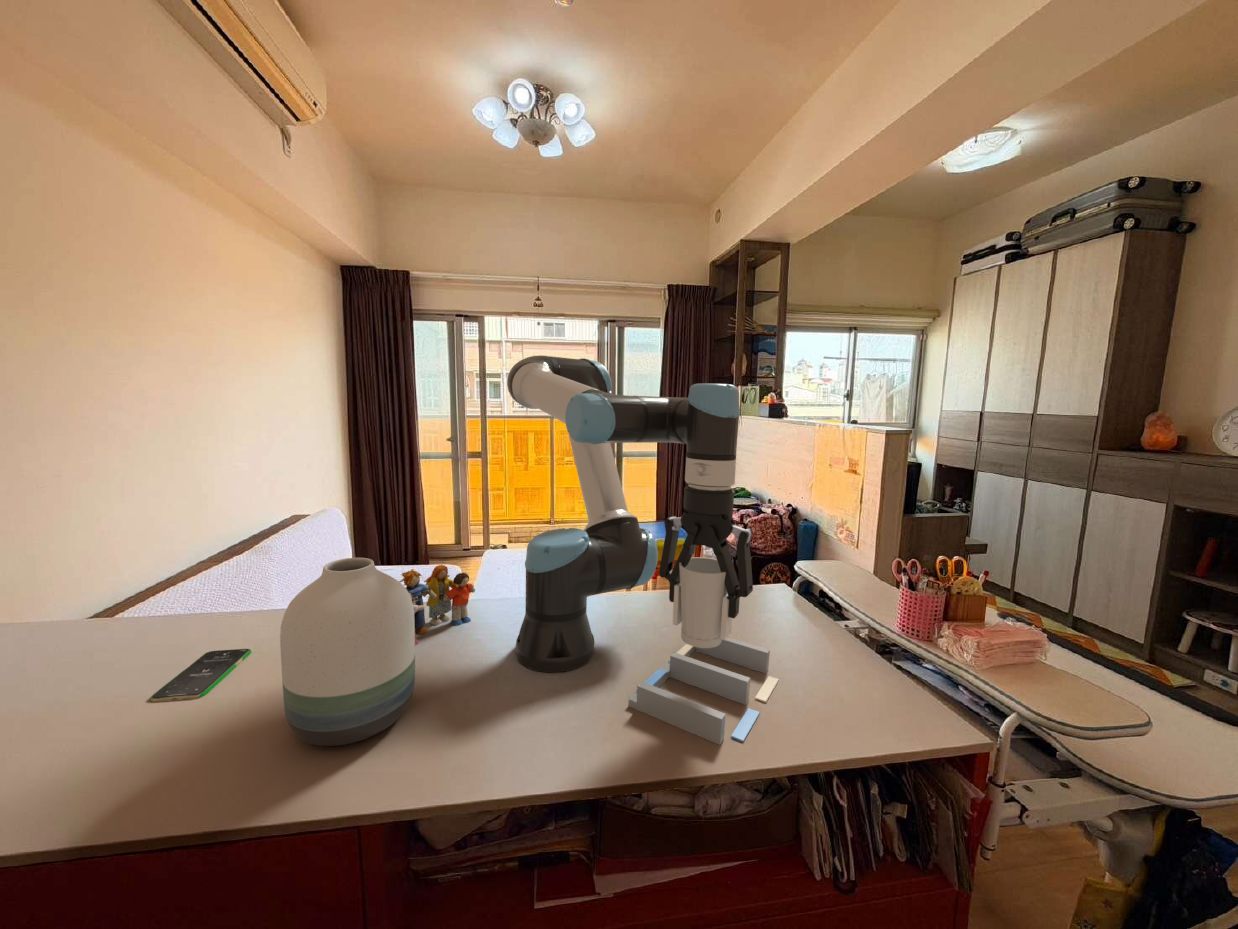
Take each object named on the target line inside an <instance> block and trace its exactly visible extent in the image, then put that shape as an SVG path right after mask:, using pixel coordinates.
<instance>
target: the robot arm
mask: <svg viewBox="0 0 1238 929" xmlns="http://www.w3.org/2000/svg"><path fill="white" fill-rule="evenodd" d="M611 378H612V377H611V375H610V373H609V371H608V369H607V368H606V366H604V364H602V363H601V362H599V361H597V360H590V359H589V358H571V357H570V358H569V357H560V356H548V355H531V356H528V357H525V358H523V359H520V360H519V361H517V362H516V363H515V364H514V365H513V366H512V368H510V370H509V372H508V376H507V378H506V379H507V380H506V386H507V390H508V393H509V395H510V397H511V398H512V400H514V402H516V403H517V404H518V405H520V406H522V407H524V408H526V409H531V410H540V411H542V412H544V413H546V414H547V415H549V416H551V417H553V418H555V419H557V420H558V421H560V422H561V423H563V424H565V426H566V428H565V429H566V431H567V433H568V438H569V442H570V446H571V451H572V456H573V458H574V464H575V466H576V467H575V468H576V472H577V477H578V481H579V484H580V489H581V494H582V498H583V503H584V508H585V511H586V515H587V519H588V522H587V524H586V525H585V526H584V529H580V528H575V527H569V528H564V527H563V528H555V529H551V530H547V531H544V532H541V533H539V534H537V535H535V536H534V537H533V538H532V539H530V540H529V542H528V543H527V545H526V556H525V562H524V567H525V568H524V569H525V614H524V617H523V620H522V623H521V626H520V629H519V632H518V635H517V637H516V641H515V658H516V660H517V661H518V662H519V664H521V665H523V666H524V667H526V668H528V669H531V670H534V671H538V672H543V673H544V672H545V673H562V672H567V671H571V670H575V669H578V668H580V667H582V666H585V665H586V664H587V663H589V662H590V661H591V659H593V657H594V654H595V644H596V643H595V637H594V635H593V632H592V629H591V625H590V621H589V618H588V614H587V605H588V604H587V603H588V602H587V600H588V597H591V596H595V595H601V594H605V593H611V592H616V591H617V592H618V591H622V590H631V589H633V588H636V587H641V586H644V585H646V584H647V583H648V582H649V581H651V579H652V578H653V577H654V574H655V572H656V568H657V567H658V566H657V565H658V560H659V559H658V558H659V557H658V555H659V552H658V545H657V542H656V539H655V537H654V534H652V533H651V531H650V530H648V529H646V528H643V527H640V524H639V520H638V517H637V516H636V515H634V514H632V513H630V512H629V510H628V507H627V506H628V505H627V502H626V498H625V494H624V492H623V487H622V484H621V479H620V475H619V472H618V468H617V464H616V460H615V457H614V452H613V448H612V446H611V444H622V443H623V444H626V443H629V444H631V443H637V444H638V443H649V444H650V443H651V444H652V443H653V444H654V443H672V444H673V443H675V444H682V445H683V444H684V445H686V452H685V470H684V472H685V473H684V481H685V483H686V484H688V485H686V486H685V487H684V489H683V513H682V515H681V516H680V517H677V516H676V515H673V516H670V517H667V518H665V519H664V523H663V524H664V528H665V537H664V542H663V547H662V548H663V549H662V554H661V559H660V565H659V570H658V575H659V577H660V578H662V579H663V578H664V579H666V580H668V582H669V590H668V591H669V593H668V594H669V595H668V599H669V602H671V603H673V608H672V609H673V610H672V625H674V626H678V625H679V624H682V614H681V584H680V568H679V563H680V562H681V563H682V566H683V567H684V568H685V567H686V566H687V565H688V563H689V561H690V559H691V558H693V555H694V553H695V550H696V548H697V546H698V547H699V546H704V547H707V548H710V549H712V552H713V554H714V556H715V558H716V559H717V561H718V564H719V567H720V570H721V573H722V572H726V575H725V581H724V583H725V587H726V590H727V594H726V595H725V596H724V597H723V603H722V620H721V637H720V638H721V639H724V640H725V639H726V638H727V637H729V636H730V635H731V634H732V630H733V619H735V618H737V617H738V614H739V612H740V611H739V610H740V598H747V597H748V596H749V595H751V593H753V591H754V587H753V573H752V570H753V569H752V561H751V560H752V557H751V540H752V537H753V530H752V529H751V528H749V527H748V528H746V529H745V528H743V527H741V526H739V525H736V524H735V521H734V516H733V514H734V505H735V504H734V503H735V502H734V499H735V490H734V489H733V488H732V487H733V486H734V485H735V484H736V469H737V468H736V467H737V466H736V465H737V448H738V446H737V445H738V435H739V434H738V433H739V423H740V421H739V420H740V416H741V411H740V392H739V391H740V390H739V388H738V387H737V386H736V385H733V384H729V383H711V382H710V383H693V384H692V385H691V386H690V387H689V390H688V391H689V392H688V396H687V397H669V396H647V395H645V396H644V395H627V394H626V395H623V394H613V392H612V389H613V383H612V379H611ZM681 528H683V530H684V531H685V533H686V534H687V535H686V538H685V539H684V542H683V544H682V548H681V551H680V553H679V556H678V557H677V560H676V562H675V557H676V552H677V546H678V541H679V535H680V530H681ZM732 534H733V537H734V538H733V539H734V541H735V542H736V543H737V544H736V558H737V571H738V575H737V572H736V570H735V565H734V563H733V560H732V557H731V554H730V546H729V542H728V538H729V537H730V536H731V535H732Z"/></svg>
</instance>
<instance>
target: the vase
mask: <svg viewBox="0 0 1238 929" xmlns="http://www.w3.org/2000/svg"><path fill="white" fill-rule="evenodd" d="M399 581H400V580H397V579H396V578H394V577H392V576H391V575H389V574H387V573H385V572H382V571H380V570H379V569H377V567H376V565H375V562H374V560H373V559H371V558H367V557H348V558H342V559H341V558H340V559H336V560H332V561H330V562H328V563H326V564H325V565H323V567H322V573H321V575H320V576H319V577H318V578H317V579H315V580H314V581H312V582H311V583H310V584H308V585H307V586H306V587H304V588H303V589H302V590H300V592H298V593H297V594H296V595H295V597H293V599H291V601H290V602H289V604H288V605H287V608H286V609H285V611H284V614H283V616H282V619H281V624H280V634H279V636H280V638H279V639H280V640H279V642H280V644H279V645H280V661H281V662H280V666H281V678H282V679H281V680H282V694H283V705H284V706H283V708H284V714H285V718H286V721H287V724H288V725H289V727H290V729H291V731H292V732H293V733H294V734H295V736H296V737H298V738H299V739H300V740H301V741H304V742H305V743H308V744H311V745H315V746H321V747H322V746H323V747H333V746H335V747H337V746H344V745H350V744H354V743H358V742H361V741H363V740H366V739H369V738H371V737H373V736H376V735H377V734H380V733H381V732H383V731H384V730H386V729H388V728H389V727H390V726H392V725H393V724H394V723H396V721H397V720H398V719H400V717H401V716H402V715H403V714H404V713H405V711H406V710H407V708H408V705H409V704H410V701H411V700H412V696H413V693H414V689H415V684H416V683H415V681H416V645H415V639H416V636H415V630H416V629H415V622H414V608H413V603H412V600H411V597H410V595H409V593H408V591H407V589H406V587H405V585H404V584H402V582H399Z"/></svg>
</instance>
